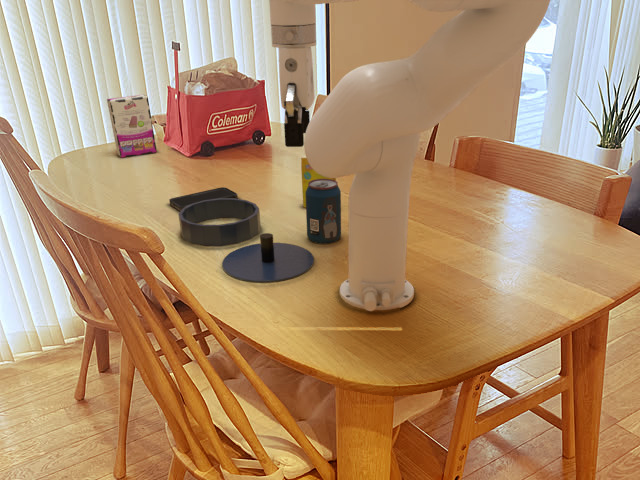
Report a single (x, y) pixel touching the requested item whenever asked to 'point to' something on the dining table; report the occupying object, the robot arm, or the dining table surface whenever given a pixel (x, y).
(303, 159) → the crayon box
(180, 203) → the phone
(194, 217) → the pot
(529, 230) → the dining table surface
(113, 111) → the candy bar box
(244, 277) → the lid
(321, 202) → the soda can
